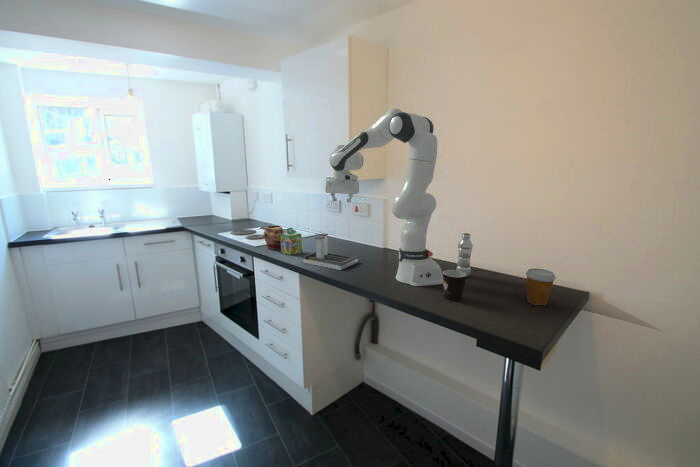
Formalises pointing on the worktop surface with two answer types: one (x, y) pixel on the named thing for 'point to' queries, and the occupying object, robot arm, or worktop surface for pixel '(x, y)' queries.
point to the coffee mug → (453, 284)
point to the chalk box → (291, 242)
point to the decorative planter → (273, 236)
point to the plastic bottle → (464, 254)
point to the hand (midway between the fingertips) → (341, 201)
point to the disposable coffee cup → (539, 285)
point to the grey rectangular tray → (331, 260)
